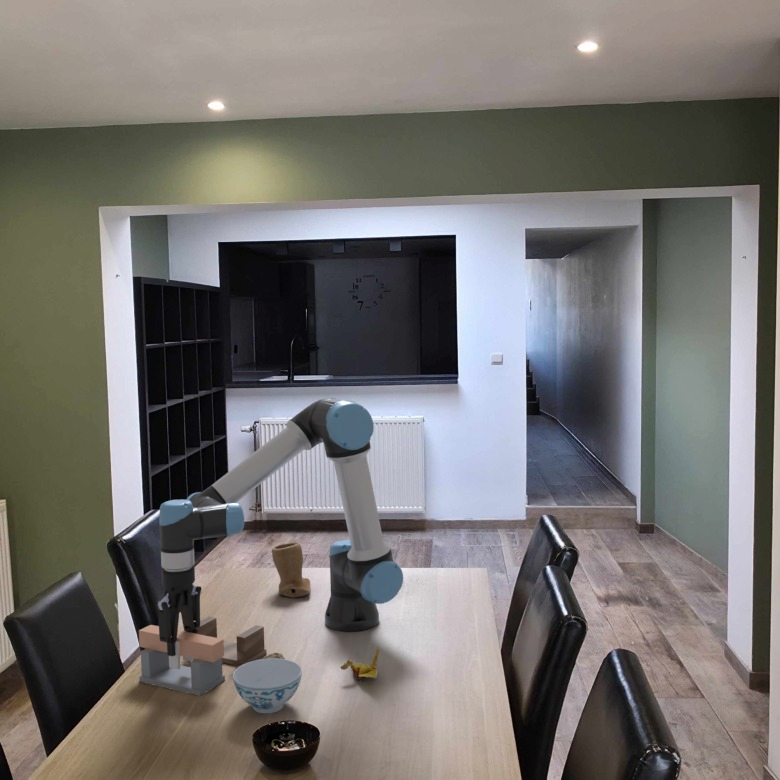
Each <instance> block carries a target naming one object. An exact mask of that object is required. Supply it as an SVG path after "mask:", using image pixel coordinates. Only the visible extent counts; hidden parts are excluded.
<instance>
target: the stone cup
mask: <svg viewBox="0 0 780 780" xmlns="http://www.w3.org/2000/svg"><path fill="white" fill-rule="evenodd" d="M271 555H272V556H271V557H272V561H273V564H274V566H275V569H276V571H277V573H278V577H279V579H280V582H279V585H278V594H280V595H282V596H285V597H289V598H300V597H305V596H306V595H308V594H310V591H311V580H310V579H309V578H306V577H305V578H304V577H303V562H304V557H303V556H304V555H303V548H302V546H301V544H300V543H298V542H295V541H294V542H287V543H280V544H277V545H274V546H273V547H272V548H271Z"/></svg>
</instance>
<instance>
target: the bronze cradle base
mask: <svg viewBox="0 0 780 780" xmlns="http://www.w3.org/2000/svg"><path fill="white" fill-rule="evenodd" d="M217 621H218V620H217V617H214V616H207V617H205V618H203V619H200V627H199V628H196V629H197V630H198V632H197V633H196V634H200V635H205V636H210V637H215V638H218V626H217V625H218V622H217ZM235 637H236V642H233V641H228V640H224V656H223V657H222V663H223V662H225V663H224V664H228V663H229V664H228V665H232V664H233V666H237V665H239V666H238V667H240V666H241V665H243V664H246V663H248V662H251V661H255V660H259V659H261V658H262V657H264V656H266V655H267V648H265V627H264V626H263V625H262V626H261V625H253V626H252V627H250V628H248V629H247V630H244V631H243V632H241V633H240V634H238V635H236V636H235ZM263 655H264V656H263ZM260 657H261V658H260ZM258 658H259V659H258Z"/></svg>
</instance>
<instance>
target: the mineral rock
mask: <svg viewBox="0 0 780 780" xmlns="http://www.w3.org/2000/svg"><path fill="white" fill-rule="evenodd" d="M270 658H277V659H286V658H285V657H284V655H283V654H282V653H280V652H273V653H270V654H268V655H265V656H264V657H263V658H262V659H270Z"/></svg>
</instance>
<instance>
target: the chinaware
mask: <svg viewBox="0 0 780 780" xmlns="http://www.w3.org/2000/svg"><path fill="white" fill-rule="evenodd" d="M302 675H303V670H302V666H301V665H299V664H298V663H297V662H296V661H293V660H289V659H286V658H285V659H277V658H270V659H263V658H259V659H257V660H255V661H251V662H248V663H246V664H243V665H241V666H237V668H236V669H235V670H234V671H233V674H232V681H233V683H234V687H235V690H236V692H237V693H238V695H239V697H241V699H242V700H243V701H244V702H245V703H247V704H248V705H249V706H251V707H252V708H253V711H255V712H257V713H260V714H273V713H276V712H279V711H281V710H282V709H283V708H284V706H285V704H286V703H287V702H288V701H289V700H290V699H292V697H293V696H294V695H295V694H296V692H297V690H298V688H299V686H300V684H301V680H302Z"/></svg>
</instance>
